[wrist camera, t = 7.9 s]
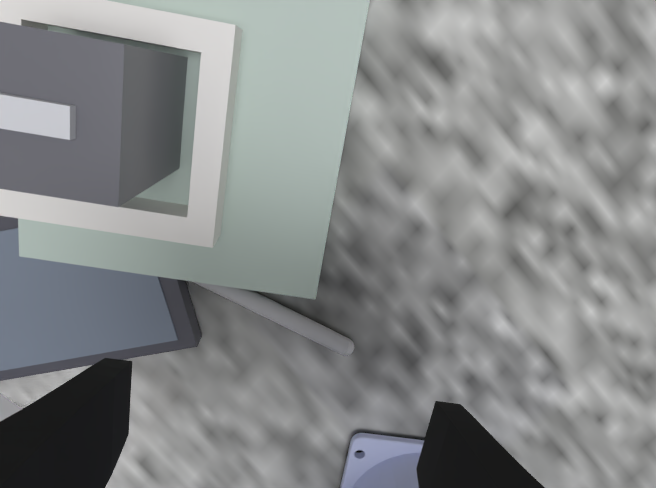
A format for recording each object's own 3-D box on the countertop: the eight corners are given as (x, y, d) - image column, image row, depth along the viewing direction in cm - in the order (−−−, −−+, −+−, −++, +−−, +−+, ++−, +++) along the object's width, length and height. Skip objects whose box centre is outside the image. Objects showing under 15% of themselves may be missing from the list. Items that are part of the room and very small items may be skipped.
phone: (201, 336, 22) (196, 347, 21) (-75, 384, 22) (-92, 397, 21) (156, 185, 19) (148, 190, 18) (-150, 242, 20) (-173, 249, 19)
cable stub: (356, 339, 22) (358, 348, 21) (347, 352, 22) (349, 362, 21) (179, 250, 20) (173, 256, 20) (171, 265, 20) (166, 272, 20)
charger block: (179, 168, 18) (113, 209, 12) (71, 150, 18) (-51, 184, 12) (187, 57, 17) (119, 43, 11) (71, 36, 17) (-64, 9, 11)
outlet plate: (315, 289, 21) (315, 317, 19) (33, 248, 20) (-7, 271, 18) (393, -141, 16) (407, -182, 14) (23, -225, 15) (-34, -284, 13)
